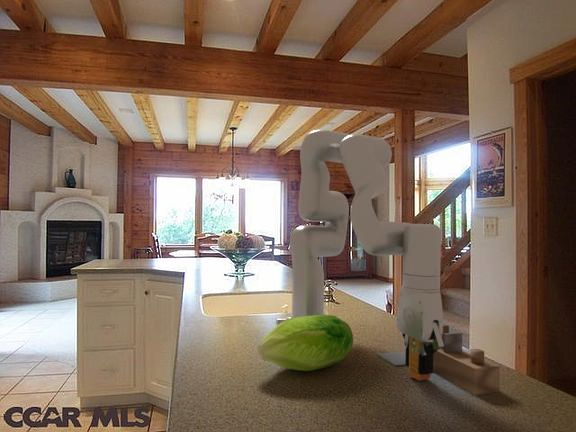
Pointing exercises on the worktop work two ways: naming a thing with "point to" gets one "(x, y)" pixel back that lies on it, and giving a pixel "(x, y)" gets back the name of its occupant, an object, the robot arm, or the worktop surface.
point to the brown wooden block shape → (465, 365)
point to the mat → (394, 358)
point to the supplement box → (415, 359)
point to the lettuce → (307, 342)
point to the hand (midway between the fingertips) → (418, 368)
